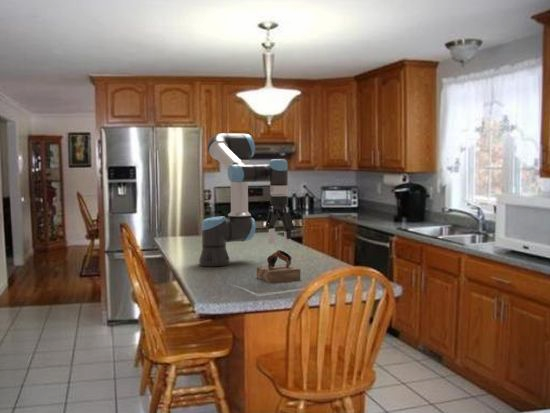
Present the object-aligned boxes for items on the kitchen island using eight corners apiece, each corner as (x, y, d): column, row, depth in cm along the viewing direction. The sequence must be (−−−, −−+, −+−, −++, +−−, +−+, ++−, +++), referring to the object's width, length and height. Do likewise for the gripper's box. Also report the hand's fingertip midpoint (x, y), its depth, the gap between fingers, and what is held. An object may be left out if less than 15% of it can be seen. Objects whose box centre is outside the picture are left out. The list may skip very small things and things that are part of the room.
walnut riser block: (256, 278, 245) (256, 267, 245) (285, 275, 251) (285, 264, 251) (270, 283, 232) (270, 271, 232) (300, 280, 238) (300, 269, 238)
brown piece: (274, 264, 250) (282, 249, 248) (288, 276, 244) (297, 260, 243) (258, 263, 240) (267, 246, 238) (273, 275, 235) (282, 258, 233)
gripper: (257, 195, 249) (258, 242, 250) (286, 196, 227) (286, 248, 228) (272, 194, 253) (273, 241, 254) (301, 196, 231) (302, 247, 232)
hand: (279, 245), depth 241 cm, fingers open, 13 cm apart
